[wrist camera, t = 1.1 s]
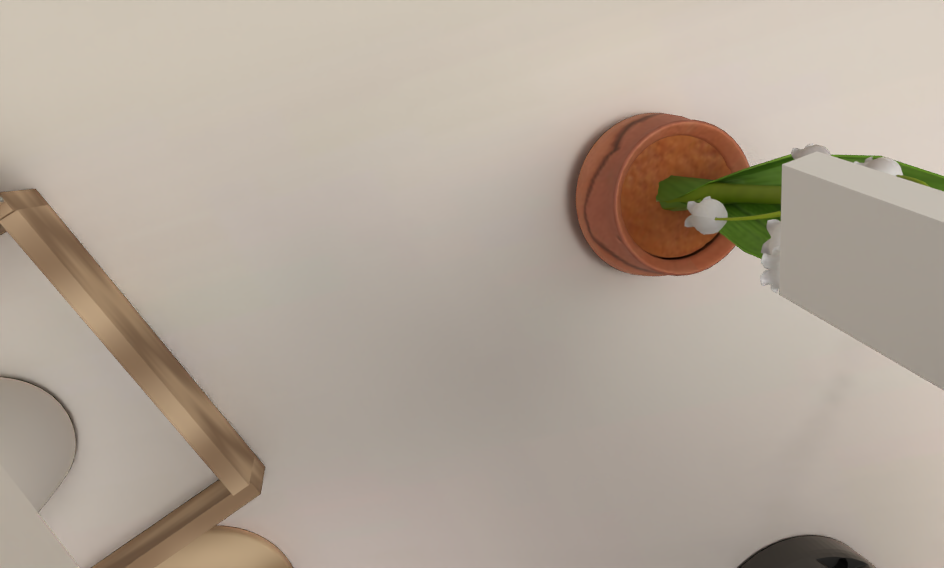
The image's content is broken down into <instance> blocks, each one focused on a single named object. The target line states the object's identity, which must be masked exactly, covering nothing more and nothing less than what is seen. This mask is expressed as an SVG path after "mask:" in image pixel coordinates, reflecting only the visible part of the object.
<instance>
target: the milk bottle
mask: <svg viewBox="0 0 944 568" xmlns="http://www.w3.org/2000/svg"><path fill="white" fill-rule="evenodd" d="M75 450H76V439H75V432H74V428H73V425H72V423H71V420H70V418H69V416H68V414H67V413H66V411H65V410H64V408H63V407H62V405H61V404H60V403H59V402H58V401H56V400H55V399H54V398H53V396H52V395H50V394H48V393H47V392H45V391H44V390H42V389H41V388H39V387H37V386H34V385H32V384H30V383H27V382H24V381H20V380H16V379H11V378H3V377H0V464H1V465H2V467H3V468H4V469H5V471H6V472H7V473H8V474H9V476H10V477H11V478H12V480H13V481H14V482H15V484H16V485H17V486H18V487H19V489H20V490H21V491H22V493H23V494H24V495H25V497H26V498H27V499H28V500H29V502H30V503H31V504H32V506H33V507H34V508H35V510H36V511H37V512H39V511H40V510H41V508H42V507H43V506H44V505H45V503H46V502H47V501H48V500H49V498H50V497H51V496H52V494H53V493H54V492H55V491H56V489H57V488H58V487H59V485H60V484H61V483H62V481H63V480H64V478H65V477H66V475H67V473H68V472H69V470H70V468H71V466H72V463H73V460H74V456H75Z"/></svg>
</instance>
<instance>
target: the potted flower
mask: <svg viewBox="0 0 944 568" xmlns="http://www.w3.org/2000/svg"><path fill="white" fill-rule="evenodd" d="M816 151H818V152H821V153H824V154H827V155H830V156H833V157H837V158H840V159H843V160H846V161H849V162H852V163H855V164H859V165H862V166H865V167H868V168H871V169H874V170H878V171H881V172H884V173H887V174H890V175H893V176H896V177H900V178H903V179H906V180H909V181H912V182H915V183H919V184H922V185H925V186H928V187H931V188H934V189H937V190H941V191H944V176H941V175H938V174H935V173H932V172H929V171H926V170H923V169H920V168H917V167H914V166H911V165H907V164H904V163H901V162H898V161H895V160H892V159H890V158H887V157H883V156H866V155H831V154H830V152H829V151H828V149H826V148H825V147H823V146H820V145H813V143H812V144H809V145H807V146H806V147H805V149H802V150H801V149H798V148H793V149H792V152H791V154H790V155H787V156H784V157H780V158H777V159H774V160H771V161H768V162H764V163H761V164H758V165H755V166H752V167H750V166H749V164H748V161H747V159H746V156H745V155H744V153H743V151H742V150H741V148H740V147H739V145H738V144H737V143H736V142H735V140H734V139H733V138H732V137H731V136H729V135H728V134H727V133H726V132H725V131H723V130H722V129H720V128H718V127H716V126H715V125H712V124H709V123H706V122H703V121H697V120H690V119H687V118H685V117H682V116H676V115H671V114H664V113H645V114H640V115H635V116H633V117H630V118H627V119H625V120H623V121H621V122H619V123H618V124H616V125H614V126H613V127H612V128H610V129H609V130H608V131H606V132H605V133H604V134H603V135H602V136H601V137H600V138H599V139H598V140H597V142H596V143H595V144H594V145H593V147H592V148H591V150H590V151H589V153H588V154H587V156H586V159H585V161H584V163H583V165H582V168H581V171H580V174H579V177H578V182H577V189H576V210H577V217H578V221H579V224H580V227H581V230H582V232H583V234H584V236H585V239H586V241H587V242H588V244H589V245H590V246H591V248H592V249H593V251H594V252H595V253H596V254H597V255H598V256H599V257H600V258H601V259H602V260H603V261H605V262H606V263H608V264H609V265H610V266H612V267H614V268H616V269H618V270H620V271H623V272H626V273H630V274H634V275H643V276H665V275H674V276H682V275H690V274H695V273H699V272H701V271H703V270H706V269H708V268H710V267H712V266H713V265H715V264H716V263H718V262H719V261H721V260H722V259H723V258H724V257H725V256H727V255H728V253H729V252H730V251H731V250H732V249H733V248H734V247H735V246H737V247H739V248H740V249H741V250H742V251H744V252H746V253H748V254H751V255H753V256H756V257H758V258H761V263H762V265H763V266H764V268H767V269H770V270H767V271H764V272H763V274H762V275H761V278H760V279H761V285H763V286H765V285H768V284H771V290H772V291H773V292H775V293H777V292H778V289H779V283H780V236H781V189H782V164H784V163H787V162H790V161H792V160H795V159H798V158H800V157H803V156H806V155H808V154H811V153H814V152H816Z"/></svg>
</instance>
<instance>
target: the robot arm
mask: <svg viewBox="0 0 944 568" xmlns="http://www.w3.org/2000/svg"><path fill="white" fill-rule="evenodd" d="M779 295H781V296H783V297H784V298H786V299H788V300H790V301H791V302H793V303H795V304H796V305H798V306H800V307H802V308H803V309H805V310H807V311H808V312H810V313H812V314H814V315H815V316H817V317H819V318H820V319H822V320H824V321H826V322H827V323H829V324H831V325H832V326H834V327H836V328H838V329H839V330H841V331H843V332H844V333H846V334H848V335H850V336H851V337H853V338H855V339H857V340H858V341H860V342H862V343H863V344H865V345H867V346H869V347H870V348H872V349H874V350H875V351H877V352H879V353H881V354H882V355H884V356H886V357H887V358H889V359H891V360H893V361H894V362H896V363H898V364H899V365H901V366H903V367H905V368H906V369H908V370H910V371H911V372H913V373H915V374H917V375H918V376H920V377H922V378H924V379H925V380H927V381H929V382H930V383H932V384H934V385H936V386H937V387H939V388H941V389H942V390H944V191H941V190H937V189H934V188H931V187H928V186H925V185H922V184H919V183H915V182H912V181H909V180H906V179H903V178H900V177H896V176H893V175H890V174H887V173H884V172H881V171H878V170H874V169H871V168H868V167H865V166H862V165H859V164H855V163H852V162H849V161H846V160H843V159H840V158H837V157H833V156H830V155H827V154H824V153H821V152H818V151H816V152H814V153H811V154H808V155H806V156H803V157H800V158H798V159H795V160H792V161H790V162H787V163H784V164H782V189H781V236H780V283H779ZM0 568H80V567H79V565H78V564H77V563H76V562H75V560H74V559H73V558H72V556H71V555H70V554H69V552H68V551H67V550H66V549H65V547H64V546H63V545H62V543H61V542H60V541H59V539H58V538H57V537H56V536H55V534H54V533H53V532H52V530H51V529H50V528H49V526H48V525H47V524H46V523H45V521H44V520H43V519H42V517H41V516H40V515H39V513H38V512H37V511H36V510H35V508H34V507H33V506H32V504H31V503H30V502H29V500H28V499H27V498H26V497H25V495H24V494H23V493H22V491H21V490H20V489H19V487H18V486H17V485H16V484H15V482H14V481H13V480H12V478H11V477H10V476H9V474H8V473H7V472H6V471H5V469H4V468H3V467H2V465H1V464H0ZM741 568H876V567H875V566H874V565H873V564H872V563H870V562H869V561H868V560H866V559H865V558H864V557H862V556H861V555H860V554H858V553H857V552H855V551H854V550H853V549H851V548H850V547H848V546H847V545H845V544H843V543H841V542H839V541H837V540H834V539H831V538H827V537H821V536H802V537H796V538H791V539H788V540H784V541H782V542H779V543H776V544H774V545H772V546H770V547H768V548H766V549H764V550H763V551H761V552H760V553H758V554H757V555H755V556H754V557H752V558H751V559H750V560H749V561H747V562H746V563H745V564H744V565H743V566H742V567H741Z"/></svg>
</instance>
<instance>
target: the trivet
mask: <svg viewBox="0 0 944 568" xmlns="http://www.w3.org/2000/svg"><path fill="white" fill-rule="evenodd" d="M155 568H293V567H292V565H291V563H290V562H289V560H288V559H287V558H286V556H285V555H284V554H283V553H282V552H281V551H280V550H279V549H278V548H277V547H276V546H275V545H273V544H272V543H271V542H269V541H268V540H266V539H264V538H263V537H261V536H259V535H257V534H254V533H252V532H249V531H247V530H243V529H239V528H234V527H227V526H214V527H213V528H211V529H210V530H208V531H207V532H205V533H204V534H202V535H201V536H200V537H198V538H197V539H195V540H194V541H192V542H191V543H190V544H188V545H187V546H185V547H184V548H182V549H181V550H179V551H178V552H177V553H175V554H174V555H172V556H171V557H169V558H168V559H167V560H165V561H164V562H162V563H161V564H159V565H158V566H157V567H155Z"/></svg>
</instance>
